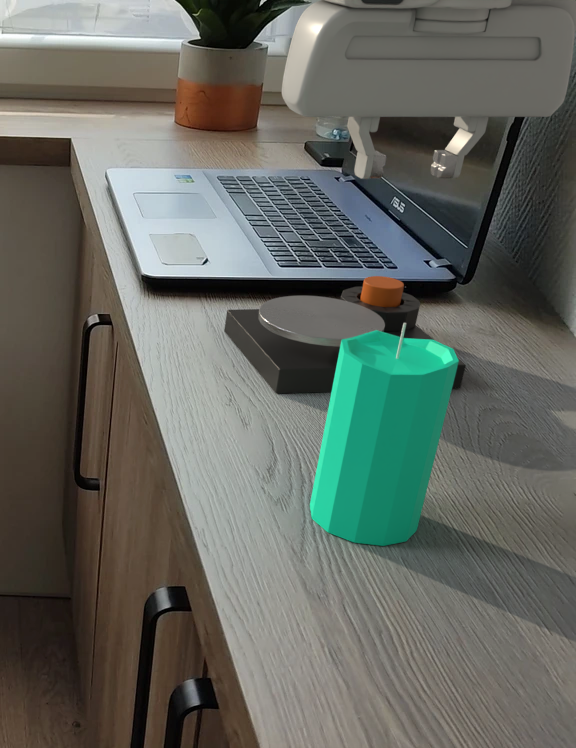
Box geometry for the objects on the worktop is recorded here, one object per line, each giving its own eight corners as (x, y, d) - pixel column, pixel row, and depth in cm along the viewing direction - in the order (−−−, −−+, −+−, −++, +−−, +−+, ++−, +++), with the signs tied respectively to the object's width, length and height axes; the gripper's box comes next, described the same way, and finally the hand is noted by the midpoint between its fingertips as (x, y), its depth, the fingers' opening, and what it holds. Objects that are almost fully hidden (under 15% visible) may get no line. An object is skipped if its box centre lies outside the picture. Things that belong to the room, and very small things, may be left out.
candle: (439, 526, 63) (489, 330, 57) (371, 557, 60) (418, 353, 54) (353, 482, 67) (393, 296, 62) (287, 509, 64) (322, 316, 58)
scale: (390, 325, 91) (399, 285, 89) (466, 388, 80) (477, 343, 78) (222, 329, 89) (227, 288, 88) (275, 393, 78) (283, 348, 77)
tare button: (389, 296, 88) (393, 275, 87) (406, 309, 85) (411, 288, 85) (353, 296, 88) (357, 276, 87) (369, 310, 85) (374, 288, 84)
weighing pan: (352, 301, 86) (354, 294, 85) (405, 345, 78) (407, 337, 77) (241, 303, 85) (242, 296, 84) (283, 348, 77) (284, 340, 77)
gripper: (561, -26, 79) (513, 166, 86) (290, -30, 77) (261, 167, 84) (616, -18, 74) (560, 186, 80) (325, -22, 72) (291, 188, 78)
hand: (405, 177), depth 82 cm, fingers open, 5 cm apart
